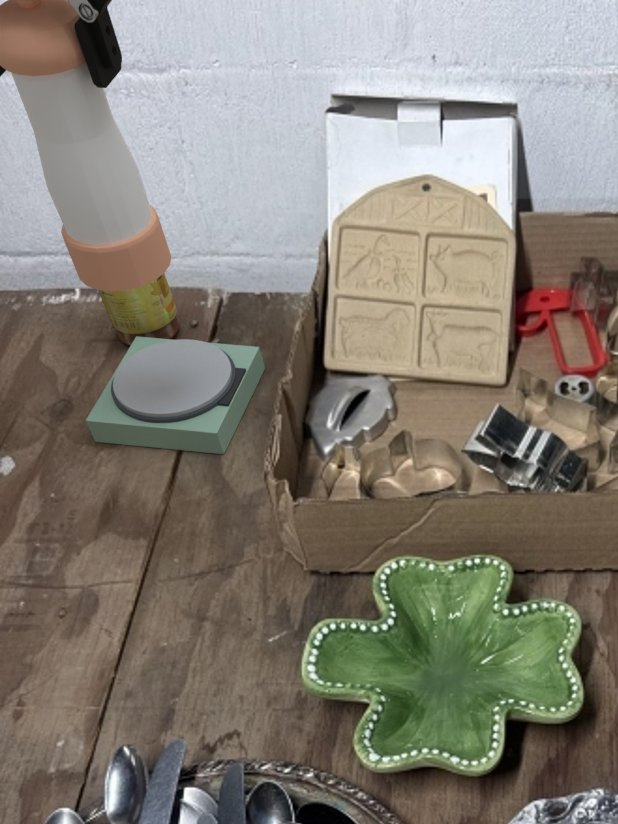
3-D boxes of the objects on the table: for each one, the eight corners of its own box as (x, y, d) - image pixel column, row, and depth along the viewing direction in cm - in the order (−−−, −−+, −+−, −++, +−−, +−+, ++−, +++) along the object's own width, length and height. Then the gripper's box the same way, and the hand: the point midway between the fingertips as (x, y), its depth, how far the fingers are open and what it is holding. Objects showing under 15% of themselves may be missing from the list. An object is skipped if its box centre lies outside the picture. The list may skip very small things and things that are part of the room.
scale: (95, 442, 95) (81, 413, 92) (144, 357, 102) (133, 328, 99) (224, 454, 94) (214, 425, 91) (265, 368, 100) (257, 339, 98)
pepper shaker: (138, 300, 81) (37, 21, 66) (58, 281, 83) (-59, 5, 67) (189, 248, 85) (105, -26, 70) (111, 231, 87) (12, -41, 71)
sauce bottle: (193, 336, 103) (122, 125, 87) (132, 360, 102) (48, 149, 85) (166, 303, 107) (93, 94, 90) (106, 326, 105) (21, 116, 88)
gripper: (-257, -258, 57) (-90, 93, 71) (49, -248, 55) (156, 110, 70) (-180, -298, 61) (-38, 42, 76) (106, -289, 59) (196, 57, 74)
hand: (54, 72), depth 72 cm, fingers closed on pepper shaker, 7 cm apart
